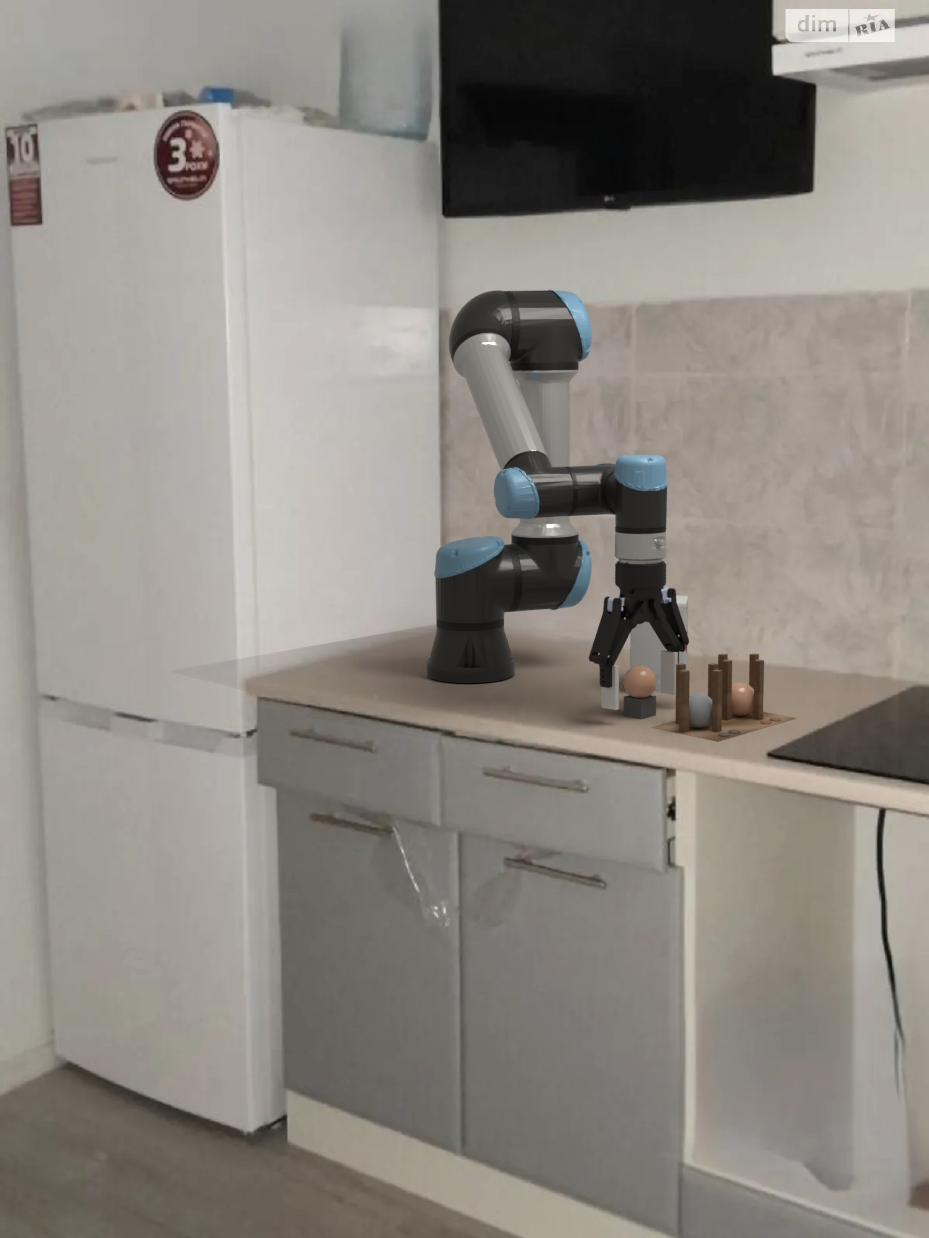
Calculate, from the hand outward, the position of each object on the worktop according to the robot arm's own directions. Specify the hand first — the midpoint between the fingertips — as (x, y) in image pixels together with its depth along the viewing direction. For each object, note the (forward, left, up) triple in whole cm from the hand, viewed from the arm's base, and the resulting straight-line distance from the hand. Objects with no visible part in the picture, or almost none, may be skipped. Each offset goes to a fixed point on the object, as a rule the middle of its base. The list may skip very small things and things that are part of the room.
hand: (640, 701), depth 228 cm
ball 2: (+11, +10, -2) cm, 15 cm away
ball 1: (+11, 0, -2) cm, 11 cm away
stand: (0, 0, -3) cm, 3 cm away
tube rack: (+12, +5, -3) cm, 13 cm away
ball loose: (0, 0, +3) cm, 3 cm away
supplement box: (-11, +18, -3) cm, 22 cm away
